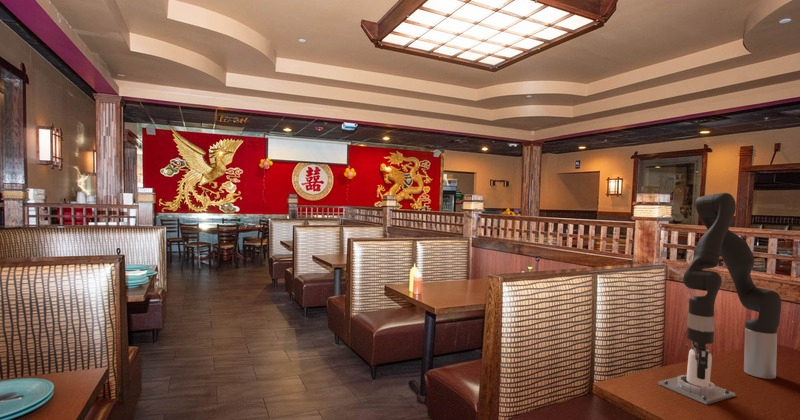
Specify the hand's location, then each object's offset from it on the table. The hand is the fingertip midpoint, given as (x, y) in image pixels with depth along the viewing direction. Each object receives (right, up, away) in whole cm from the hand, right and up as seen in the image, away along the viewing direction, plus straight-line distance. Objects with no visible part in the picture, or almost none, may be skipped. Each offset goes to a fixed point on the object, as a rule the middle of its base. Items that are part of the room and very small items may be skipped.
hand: (699, 374), depth 140 cm
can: (0, -3, 0) cm, 3 cm away
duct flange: (0, -6, +1) cm, 6 cm away
